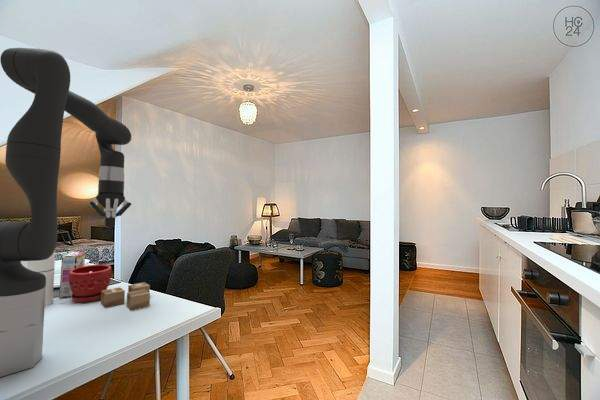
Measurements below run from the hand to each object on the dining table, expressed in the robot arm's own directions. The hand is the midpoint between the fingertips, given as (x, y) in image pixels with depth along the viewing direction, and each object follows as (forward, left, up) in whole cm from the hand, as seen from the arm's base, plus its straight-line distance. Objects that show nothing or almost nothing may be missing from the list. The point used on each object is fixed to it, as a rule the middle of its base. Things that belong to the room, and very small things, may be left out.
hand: (109, 228), depth 94 cm
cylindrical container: (+21, +16, -29) cm, 39 cm away
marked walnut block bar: (+5, -3, -29) cm, 30 cm away
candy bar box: (+29, +6, -29) cm, 42 cm away
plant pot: (+17, +2, -29) cm, 34 cm away
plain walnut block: (-4, -9, -29) cm, 31 cm away
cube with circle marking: (+6, -12, -29) cm, 32 cm away
